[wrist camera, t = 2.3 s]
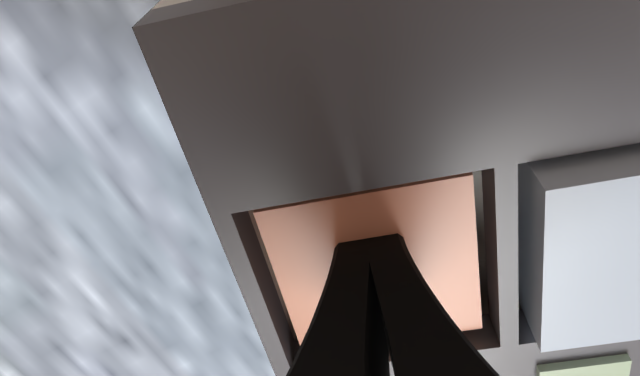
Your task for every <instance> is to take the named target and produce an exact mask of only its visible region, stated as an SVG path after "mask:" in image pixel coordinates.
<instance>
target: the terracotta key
mask: <svg viewBox="0 0 640 376" xmlns="http://www.w3.org/2000/svg"><path fill="white" fill-rule="evenodd" d="M253 214H254V217H255V220H256V223H257V226H258V228H259V231H260V234H261V237H262V240H263V242H264V245H265V248H266V251H267V254H268V257H269V259H270V262H271V265H272V268H273V271H274V274H275V276H276V279H277V282H278V285H279V288H280V290H281V293H282V296H283V299H284V302H285V305H286V307H287V310H288V313H289V316H290V319H291V322H292V324H293V327H294V330H295V333H296V336H297V339H298V341H299V344H300V345H301V343H302V341H303V339H304V337H305V334H306V332H307V330H308V328H309V325H310V323H311V321H312V318H313V315H314V313H315V310H316V307H317V305H318V302H319V300H320V297H321V294H322V292H323V288H324V285H325V282H326V279H327V276H328V273H329V269H330V266H331V262H332V258H333V253H334V248H335V247H336V246H337V244H338V243H341V242H347V241H354V240H360V239H366V238H372V237H378V236H384V235H390V234H396V233H398V234H399V235H401V236H403V237H404V240H405V243H406V246H407V248H408V250H409V252H410V254H411V257H412V258H413V260H414V262H415V264H416V266H417V268H418V269H419V271H420V273H421V274H422V276H423V278H424V279H425V281H426V283H427V284H428V286H429V287H430V289H431V290H432V292H433V293H434V294H435V296H436V297H437V299H438V300H439V302H440V303H441V305H442V306H443V307H444V309H445V310H446V312H447V313H448V314H449V316H450V317H451V318H452V320H453V321H454V322H455V324H456V325H457V326H458V327H459V329H460V330H461V331H466V330H474V329H481V328H482V312H481V296H480V279H479V263H478V247H477V230H476V214H475V197H474V181H473V174H472V172H469V173H463V174H457V175H451V176H445V177H440V178H434V179H428V180H422V181H417V182H411V183H405V184H399V185H394V186H388V187H382V188H376V189H371V190H365V191H359V192H353V193H347V194H342V195H336V196H330V197H324V198H319V199H313V200H307V201H301V202H296V203H290V204H284V205H278V206H273V207H267V208H261V209H255V210H254V211H253Z"/></svg>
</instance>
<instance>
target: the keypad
mask: <svg viewBox="0 0 640 376" xmlns="http://www.w3.org/2000/svg"><path fill="white" fill-rule="evenodd" d="M132 28H133V31H134V33H135V36H136V38H137V41H138V43H139V45H140V48H141V50H142V53H143V55H144V58H145V60H146V62H147V65H148V67H149V70H150V72H151V75H152V77H153V79H154V82H155V84H156V87H157V89H158V92H159V94H160V96H161V99H162V101H163V104H164V106H165V108H166V111H167V113H168V116H169V118H170V121H171V123H172V125H173V128H174V130H175V133H176V135H177V138H178V140H179V142H180V145H181V147H182V150H183V152H184V155H185V157H186V159H187V162H188V164H189V167H190V169H191V172H192V174H193V176H194V179H195V181H196V184H197V186H198V188H199V191H200V193H201V196H202V198H203V201H204V203H205V205H206V208H207V210H208V213H209V215H210V218H211V220H212V222H213V225H214V227H215V230H216V232H217V235H218V237H219V239H220V242H221V244H222V247H223V249H224V252H225V254H226V256H227V259H228V261H229V264H230V266H231V268H232V271H233V273H234V276H235V278H236V281H237V283H238V285H239V288H240V290H241V293H242V295H243V298H244V300H245V302H246V305H247V307H248V310H249V312H250V315H251V317H252V319H253V322H254V324H255V327H256V329H257V332H258V334H259V336H260V339H261V341H262V344H263V346H264V348H265V351H266V353H267V356H268V358H269V361H270V363H271V365H272V368H273V370H274V373H275V375H276V376H286V375H287V373H288V371H289V369H290V367H291V365H292V363H293V361H294V359H295V356H296V354H297V352H298V350H299V348H300V344H299V341H298V339H297V336H296V333H295V330H294V327H293V324H292V322H291V319H290V316H289V313H288V310H287V307H286V305H285V302H284V299H283V296H282V293H281V290H280V288H279V285H278V282H277V279H276V276H275V274H274V271H273V268H272V265H271V262H270V259H269V257H268V254H267V251H266V248H265V245H264V242H263V240H262V237H261V234H260V231H259V228H258V226H257V223H256V220H255V217H254V214H253V211H254V210H255V209H261V208H267V207H273V206H278V205H284V204H290V203H296V202H301V201H307V200H313V199H319V198H324V197H330V196H336V195H342V194H347V193H353V192H359V191H365V190H371V189H376V188H382V187H388V186H394V185H399V184H405V183H411V182H417V181H422V180H428V179H434V178H440V177H445V176H451V175H457V174H463V173H469V172H472V174H473V181H474V197H475V214H476V230H477V247H478V263H479V279H480V296H481V312H482V328H481V329H474V330H466V331H462V332H463V334H464V335H465V336H466V337H467V339H468V340H469V341H470V342H471V343H472V345H473V346H474V347H475V348H476V349H477V351H478V352H479V353H480V354H481V355H482V356H483V358H484V359H485V360H486V361H487V362H488V363H489V364H490V365H491V366H492V367H493V369H494V370H495V371H496V372H497V373H498V374H499V375H500V376H640V340H634V341H626V342H618V343H611V344H603V345H595V346H588V347H580V348H572V349H564V350H557V351H549V352H540V350H539V347H538V345H537V343H536V340H535V338H534V336H533V333H532V331H531V329H530V326H529V324H528V322H527V319H526V317H525V315H524V312H523V310H522V308H521V305H520V303H519V291H518V164H520V163H526V162H532V161H538V160H543V159H549V158H555V157H561V156H567V155H572V154H578V153H584V152H590V151H595V150H601V149H607V148H613V147H618V146H624V145H630V144H636V143H640V0H161V1H159V2H158V3H157V4H156V5H155V6H154V7H153V8H152V9H151V10H150V11H149V12H148V13H147V14H146V15H145V16H144V17H143V18H141V19H140V20H139V21H138V22H137V23H136V24H135V25H134V26H133V27H132ZM389 366H390V376H395V375H394V371H393V367H392V363H391V359H390V354H389Z"/></svg>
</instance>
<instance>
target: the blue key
mask: <svg viewBox="0 0 640 376" xmlns="http://www.w3.org/2000/svg"><path fill="white" fill-rule="evenodd" d="M518 291H519V303H520V305H521V308H522V310H523V312H524V315H525V317H526V319H527V322H528V324H529V326H530V329H531V331H532V333H533V336H534V338H535V340H536V343H537V345H538V347H539V350H540V352H549V351H557V350H564V349H572V348H580V347H588V346H595V345H603V344H611V343H618V342H626V341H634V340H640V143H636V144H630V145H624V146H618V147H613V148H607V149H601V150H595V151H590V152H584V153H578V154H572V155H567V156H561V157H555V158H549V159H543V160H538V161H532V162H526V163H520V164H518Z"/></svg>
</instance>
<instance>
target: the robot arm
mask: <svg viewBox="0 0 640 376" xmlns="http://www.w3.org/2000/svg"><path fill="white" fill-rule="evenodd" d="M389 354H390V359H391V363H392V367H393V371H394V375H395V376H500V375H499V374H498V373H497V372H496V371H495V370H494V369H493V367H492V366H491V365H490V364H489V363H488V362H487V361H486V360H485V359H484V358H483V356H482V355H481V354H480V353H479V352H478V351H477V349H476V348H475V347H474V346H473V345H472V343H471V342H470V341H469V340H468V339H467V337H466V336H465V335H464V334H463V332H462V331H461V330H460V329H459V327H458V326H457V325H456V324H455V322H454V321H453V320H452V318H451V317H450V316H449V314H448V313H447V312H446V310H445V309H444V307H443V306H442V305H441V303H440V302H439V300H438V299H437V297H436V296H435V294H434V293H433V292H432V290H431V289H430V287H429V286H428V284H427V283H426V281H425V279H424V278H423V276H422V274H421V273H420V271H419V269H418V268H417V266H416V264H415V262H414V260H413V258H412V257H411V254H410V252H409V250H408V248H407V246H406V243H405V240H404V237H403V236H401V235H399V234H398V233H396V234H390V235H384V236H378V237H372V238H366V239H360V240H354V241H347V242H341V243H338V244H337V246H336V247H335V248H334V253H333V258H332V262H331V266H330V269H329V273H328V276H327V279H326V282H325V285H324V288H323V292H322V294H321V297H320V300H319V302H318V305H317V307H316V310H315V313H314V315H313V318H312V321H311V323H310V325H309V328H308V330H307V332H306V334H305V337H304V339H303V341H302V343H301V345H300V348H299V350H298V352H297V354H296V356H295V359H294V361H293V363H292V365H291V367H290V369H289V371H288V373H287V375H286V376H390V366H389Z"/></svg>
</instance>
